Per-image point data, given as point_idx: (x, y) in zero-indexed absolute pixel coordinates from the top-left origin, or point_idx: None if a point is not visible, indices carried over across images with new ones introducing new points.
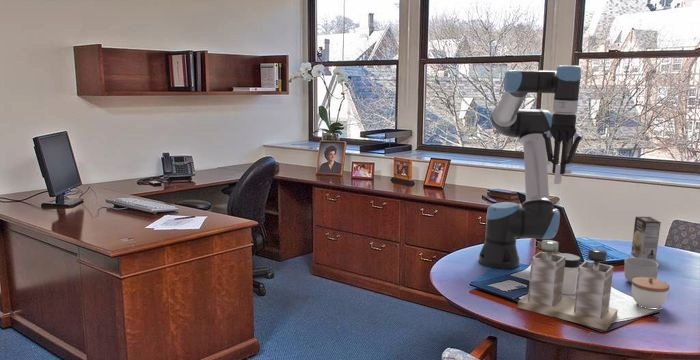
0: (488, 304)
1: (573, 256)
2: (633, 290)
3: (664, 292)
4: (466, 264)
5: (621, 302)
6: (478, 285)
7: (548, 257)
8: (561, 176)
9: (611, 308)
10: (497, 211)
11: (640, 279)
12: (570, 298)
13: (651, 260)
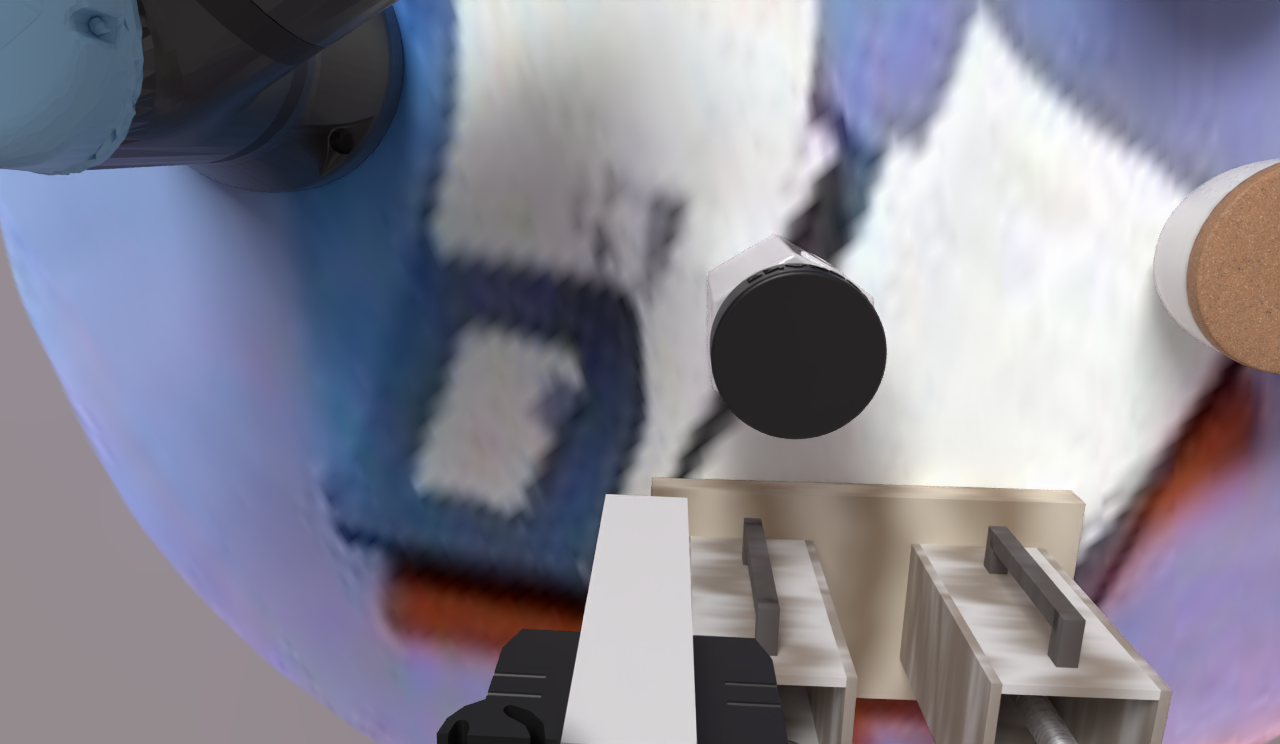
0: None
1: (833, 324)
2: (1182, 320)
3: None
4: (149, 235)
5: (1079, 292)
6: (381, 521)
7: None
8: (689, 575)
9: (1056, 513)
10: (4, 167)
11: (1252, 253)
12: (850, 504)
13: None
